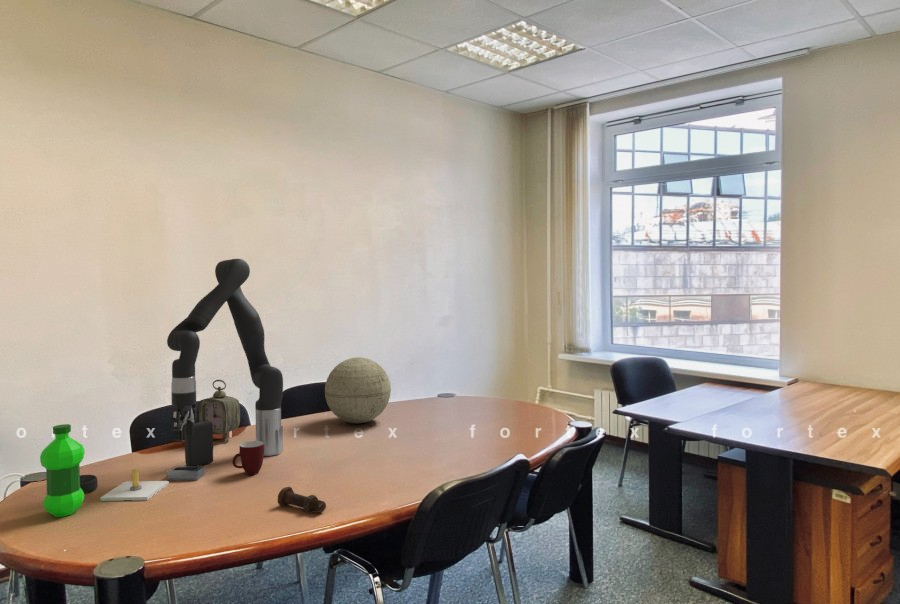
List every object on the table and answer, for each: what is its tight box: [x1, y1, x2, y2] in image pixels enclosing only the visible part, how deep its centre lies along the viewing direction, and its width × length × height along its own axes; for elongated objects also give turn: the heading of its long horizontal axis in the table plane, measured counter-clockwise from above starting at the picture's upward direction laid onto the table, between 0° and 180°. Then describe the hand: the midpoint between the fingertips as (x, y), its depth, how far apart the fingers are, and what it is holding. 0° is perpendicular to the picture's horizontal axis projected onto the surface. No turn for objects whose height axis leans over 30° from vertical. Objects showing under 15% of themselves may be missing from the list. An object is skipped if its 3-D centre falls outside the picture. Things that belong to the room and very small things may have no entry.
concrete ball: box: [324, 356, 392, 424], centre depth 270 cm, size 30×30×30 cm
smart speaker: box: [80, 474, 99, 495], centre depth 185 cm, size 9×9×4 cm
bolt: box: [277, 486, 327, 514], centre depth 170 cm, size 6×5×15 cm
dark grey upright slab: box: [183, 421, 214, 466], centre depth 210 cm, size 9×4×15 cm, turn 134°
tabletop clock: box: [198, 379, 241, 444], centre depth 242 cm, size 14×9×25 cm, turn 68°
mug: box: [232, 440, 265, 476], centre depth 200 cm, size 10×8×10 cm
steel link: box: [166, 465, 205, 481], centre depth 197 cm, size 10×6×3 cm, turn 91°
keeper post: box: [99, 468, 170, 502], centre depth 183 cm, size 14×14×7 cm
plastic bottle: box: [39, 423, 85, 518], centre depth 167 cm, size 10×10×25 cm
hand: (184, 438), depth 196 cm, fingers open, 8 cm apart
